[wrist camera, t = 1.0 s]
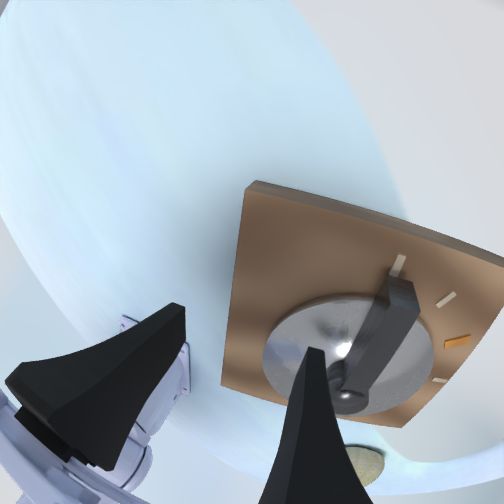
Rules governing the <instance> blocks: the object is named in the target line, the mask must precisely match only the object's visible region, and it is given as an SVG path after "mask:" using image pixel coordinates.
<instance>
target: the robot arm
mask: <svg viewBox="0 0 504 504" xmlns="http://www.w3.org/2000/svg"><path fill="white" fill-rule="evenodd" d="M119 323H120V327H121V331H122V333H120V334H118V335H116V336H114V337H112V338H110V339H108V340H106V341H103V342H101V343H99V344H96V345H94V346H92V347H89V348H86V349H84V350H80V351H77V352H74V353H71V354H68V355H64V356H60V357H56V358H51V359H45V360H39V361H31V362H22V363H21V364H20V365H19V366H18V367H17V368H16V369H15V370H14V371H13V372H12V373H11V374H10V375H9V376H8V377H7V378H6V380H5V384H6V385H7V387H8V388H9V390H10V391H11V392H12V394H13V395H14V396H15V397H16V398H17V400H18V401H19V402H20V403H21V404H22V407H21V408H20V409H19V410H18V409H17V408H16V407H15V406H14V405H13V404H12V403H11V401H10V400H9V399H8V397H7V396H6V395H5V394H4V393H3V391H2V390H1V389H0V464H1V465H2V466H3V468H4V469H5V471H6V472H7V473H8V474H9V476H10V477H11V478H12V479H13V480H14V482H15V483H16V484H17V485H18V486H19V488H20V489H21V490H22V491H23V492H24V493H23V494H22V496H21V497H20V499H19V500H18V501H17V503H16V504H118V503H120V504H150V503H148V502H146V501H144V500H142V499H140V498H138V497H136V496H134V495H132V494H131V493H130V492H132V491H133V490H134V489H136V488H137V486H139V485H140V484H141V482H142V481H143V480H144V478H145V477H146V475H147V473H148V471H149V469H150V467H151V463H152V450H151V447H150V446H149V445H147V444H148V442H149V440H150V439H151V437H150V436H152V435H153V434H155V433H156V432H157V431H158V430H159V429H160V427H161V426H162V424H163V422H164V421H165V419H166V417H167V416H168V414H169V412H170V411H171V409H172V407H173V406H174V404H175V402H176V400H177V399H178V397H179V395H180V394H183V395H186V396H189V394H190V379H189V350H188V345H187V344H186V343H185V341H186V327H185V307H184V306H181V305H178V304H176V303H173V302H172V303H170V304H169V305H167V306H165V307H164V308H162V309H160V310H159V311H157V312H156V313H154V314H152V315H151V316H149V317H148V318H146V319H144V320H143V321H141V322H139V323H137V322H134V321H132V320H130V319H128V318H126V317H123V316H121V317H120V318H119ZM258 504H373V502H372V501H371V499H370V498H369V496H368V494H367V492H366V491H365V489H364V487H363V485H362V483H361V481H360V479H359V478H358V476H357V473H356V471H355V469H354V467H353V464H352V462H351V460H350V458H349V455H348V453H347V450H346V448H345V445H344V442H343V439H342V436H341V433H340V430H339V427H338V423H337V420H336V416H335V412H334V408H333V404H332V399H331V394H330V389H329V384H328V377H327V370H326V360H325V352H324V350H321V349H317V348H314V347H310V346H308V348H307V351H306V353H305V355H304V358H303V360H302V363H301V365H300V367H299V369H298V372H297V374H296V376H295V380H294V383H293V386H292V390H291V393H290V396H289V401H288V406H287V411H286V416H285V421H284V426H283V431H282V436H281V440H280V445H279V448H278V452H277V455H276V458H275V461H274V464H273V467H272V469H271V472H270V475H269V478H268V480H267V483H266V486H265V488H264V491H263V493H262V496H261V498H260V500H259V503H258Z"/></svg>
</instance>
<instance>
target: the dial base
mask: <svg viewBox="0 0 504 504" xmlns="http://www.w3.org/2000/svg"><path fill="white" fill-rule="evenodd" d="M386 274H388V275H391V276H395V277H398V278H402V279H405V280H409V281H412V282H413V285H414V288H415V292H416V295H417V299H418V302H419V306H420V310H421V312H420V314H419V317H420V318H421V319H422V321H423V322H424V323H425V325H426V327H427V329H428V331H429V333H430V337H431V341H432V346H433V350H434V362H433V367H432V370H431V373H430V375H429V377H428V379H427V380H426V382H425V383H424V385H423V386H422V387H421V388H420V389H419V390H418V391H417V392H416V393H415V394H414V395H413V396H411V397H410V398H409V399H407V400H406V401H404V402H403V403H401V404H399V405H397V406H395V407H393V408H391V409H388V410H386V411H382V412H379V413H376V414H371V415H366V416H358V417H336V418H340V419H345V420H350V421H356V422H361V423H368V424H374V425H381V426H388V427H396V428H402V427H403V426H404V425H405V424H406V423H407V422H409V421H410V420H411V419H412V418H413V417H414V416H415V415H416V414H417V413H418V412H419V411H420V410H421V409H422V408H423V407H424V406H425V405H426V404H427V403H428V402H429V401H430V400H431V399H432V398H433V397H434V396H435V395H436V394H437V393H438V392H439V391H440V389H441V388H442V387H443V386H444V385H445V384H446V383H447V382H448V381H449V379H450V378H451V377H452V376H453V375H454V374H455V372H456V371H457V370H458V369H459V368H460V366H461V365H462V364H463V363H464V362H465V360H466V359H467V358H468V356H469V355H470V354H471V353H472V351H473V350H474V349H475V347H476V346H477V345H478V343H479V342H480V340H481V339H482V337H483V336H484V335H485V333H486V332H487V330H488V329H489V328H490V326H491V325H492V323H493V321H494V320H495V319H496V317H497V316H498V314H499V312H500V311H501V309H502V308H503V306H504V258H503V257H501V256H499V255H496V254H494V253H491V252H489V251H486V250H484V249H481V248H479V247H476V246H474V245H471V244H469V243H466V242H463V241H461V240H458V239H455V238H453V237H450V236H447V235H444V234H442V233H439V232H436V231H433V230H430V229H427V228H425V227H421V226H418V225H416V224H412V223H410V222H407V221H404V220H401V219H397V218H394V217H391V216H388V215H385V214H382V213H378V212H375V211H372V210H368V209H365V208H362V207H358V206H355V205H351V204H348V203H344V202H340V201H337V200H333V199H330V198H326V197H322V196H318V195H314V194H311V193H307V192H303V191H299V190H295V189H291V188H286V187H282V186H278V185H274V184H269V183H265V182H261V181H256V180H255V181H254V182H253V183H252V184H251V185H249V186H248V187H247V188H246V189H245V193H244V200H243V207H242V215H241V222H240V230H239V237H238V245H237V252H236V260H235V268H234V276H233V284H232V292H231V300H230V308H229V316H228V325H227V333H226V341H225V350H224V359H223V367H222V376H221V386H224V387H227V388H230V389H233V390H236V391H239V392H242V393H245V394H248V395H251V396H254V397H257V398H260V399H264V400H267V401H270V402H274V403H277V404H281V405H285V406H288V400H286V399H285V398H284V397H282V396H281V395H280V394H279V393H278V392H277V391H276V390H275V389H274V388H273V387H272V386H271V384H270V383H269V381H268V380H267V378H266V375H265V373H264V370H263V365H262V356H263V350H264V347H265V345H266V342H267V339H268V337H269V334H270V332H271V330H272V329H273V327H274V326H275V324H276V323H277V322H278V321H279V320H280V319H281V318H282V317H283V316H284V315H285V314H287V313H288V312H289V311H291V310H292V309H294V308H296V307H297V306H299V305H301V304H303V303H306V302H308V301H311V300H314V299H317V298H320V297H324V296H329V295H334V294H343V293H363V294H372V295H377V293H378V291H379V288H380V286H381V284H382V282H383V279H384V277H385V275H386Z"/></svg>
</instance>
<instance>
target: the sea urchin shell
mask: <svg viewBox="0 0 504 504" xmlns="http://www.w3.org/2000/svg"><path fill="white" fill-rule="evenodd" d="M345 448H346V450H347V453H348V455H349V458H350V460H351V462H352V464H353V467H354V469H355V471H356V473H357V476H358V478H359V479H360V481H361V483H362V485H363V487H365V486H367V485H369V484H370V483H372V482H373V481H375V480H376V479H377V478H378V477H379V475H380V474H381V473H382V471H383V469H384V464H385V463H384V459H383V457H382V455H380V454H379V453H377V452H375V451H372V450H368V449H367V448H360V447H345Z"/></svg>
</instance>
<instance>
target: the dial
mask: <svg viewBox="0 0 504 504" xmlns="http://www.w3.org/2000/svg"><path fill="white" fill-rule="evenodd" d="M420 312H421V310H420V306H419V302H418V299H417V295H416V292H415V288H414V285H413V282H412V281H409V280H405V279H402V278H398V277H395V276H391V275H388V274H386V275H385V277H384V279H383V282H382V284H381V286H380V288H379V291H378V293H377V295H372V294H363V293H343V294H334V295H329V296H324V297H320V298H317V299H314V300H311V301H308V302H306V303H303V304H301V305H299V306H297V307H296V308H294V309H292V310H291V311H289V312H288V313H287V314H285V315H284V316H283V317H282V318H281V319H280V320H279V321H278V322H277V323H276V324H275V326H274V327H273V329H272V330H271V332H270V334H269V337H268V339H267V342H266V345H265V347H264V350H263V356H262V365H263V370H264V373H265V375H266V378H267V380H268V381H269V383H270V384H271V386H272V387H273V388H274V389H275V390H276V391H277V392H278V393H279V394H280V395H281V396H282V397H284V398H285V399H286V400H288V401H289V396H290V393H291V390H292V386H293V383H294V380H295V376H296V374H297V372H298V369H299V367H300V365H301V363H302V360H303V358H304V355H305V353H306V351H307V348H308V346H310V347H314V348H317V349H321V350H324V352H325V360H326V370H327V377H328V384H329V389H330V394H331V399H332V404H333V408H334V412H335V416H336V417H358V416H366V415H371V414H376V413H379V412H382V411H386V410H388V409H391V408H393V407H395V406H397V405H399V404H401V403H403V402H404V401H406V400H407V399H409V398H410V397H411V396H413V395H414V394H415V393H416V392H417V391H418V390H419V389H420V388H421V387H422V386H423V385H424V383H425V382H426V380H427V379H428V377H429V375H430V373H431V370H432V367H433V362H434V350H433V346H432V341H431V337H430V333H429V331H428V329H427V327H426V325H425V323H424V322H423V321H422V319H421V318H420V317H419V314H420Z"/></svg>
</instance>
